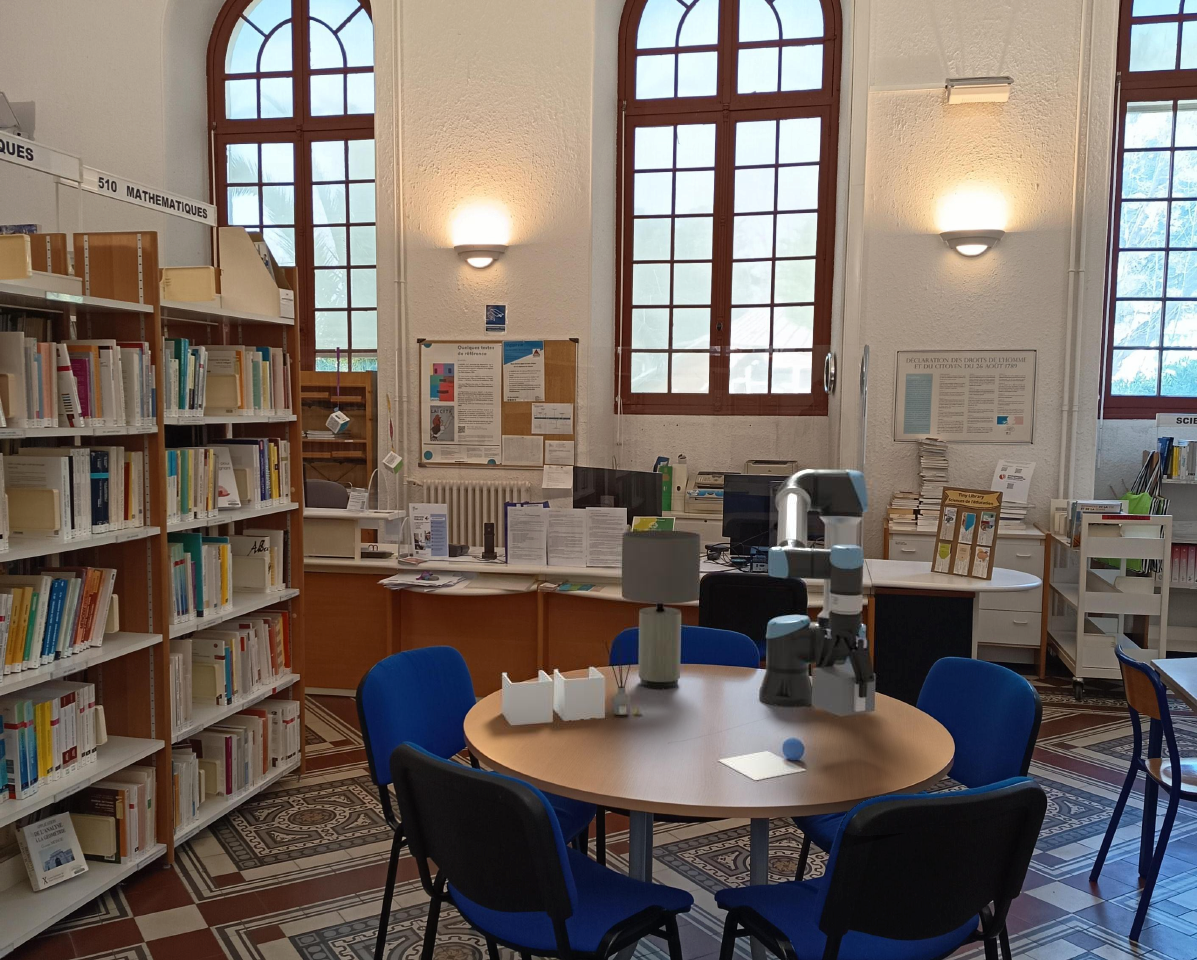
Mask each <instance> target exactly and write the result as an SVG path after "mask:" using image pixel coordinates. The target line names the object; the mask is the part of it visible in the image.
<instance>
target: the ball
mask: <svg viewBox="0 0 1197 960" xmlns="http://www.w3.org/2000/svg"><path fill="white" fill-rule="evenodd" d="M781 750H782V753H783V756H784V757H785V758H786V759H788V760H789V761H798V760H799V759H802V758H803V756H804V754H805V746H804V743H803V742H802V741H801V740H800V739H798V738H796V737H790V738H788V739H786V740H785V741H784V742H783V744H782V749H781Z"/></svg>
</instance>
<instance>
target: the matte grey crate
mask: <svg viewBox="0 0 1197 960" xmlns="http://www.w3.org/2000/svg"><path fill="white" fill-rule="evenodd" d="M811 671H812V673H811V674H812V676H811V677H812V680H811V685H812V704H811V706H813V707H815V708H818V709H820V710H823V711H826V712H828V713H830V714H834V715H836V716H838V717H845V716H847V717H848V716H854V715H858V714H865V713H871V712H875V710H876V677H877V676H876V673H874V672H873V673H874V679H875V680H874V682H869V683H868V684H867V697H865V710H864V711H858V712H855V711H854V687H855V682H857V679H856V676H855V674H854V671H853V668H852V666H849V665H846V664H845V665H833V666H829V667H822V668H819V667H814V668H812V670H811ZM868 677H869V676H868ZM861 678H862V676H861Z"/></svg>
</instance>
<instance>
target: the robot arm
mask: <svg viewBox="0 0 1197 960" xmlns="http://www.w3.org/2000/svg"><path fill="white" fill-rule="evenodd" d="M868 503H869V502H868V489H867V482H866V478H865V475H864V474H863V472H862V471H860V470H855V469H814V468H810V469H808V468H807V469H802V470H799V471H797V472H795V473H793V474H791V475H790V476H788V477H787V478H786V479H785V480H783V482H782V483H781V484H780V486H779V487H778V488H777V491H776V495H775V503H774V504H775V507H776V509H777V511H778V520H777V521H778V522H777V538H776V539H777V540H776V541H777V542H776V546H772V547H770V548H769V549H768V561H767V567H768V568H767V571H768V575H769V576H770V577H773V578H782V579H809V580H810V579H811V580H823V602H822V603H823V604H822V611H820V612H819V614H817V620H816V621H811V619H810V617H809V616H808V615H804V614H803V615H801V614H790V615H787V614H786V615H781V616H777V617H774V618H772V619H770V620H769V621H768V622H767V627H766V634H765V638H766V653H765V654H766V657H765V658H766V661H765V672H764V676H763V679H762V683H761V685H760V686H759V687H760V688H759V690H758V692H759V693H758V699H760V701H761V702H764V703H765V704H769V705H773V706H780V707H788V708H789V707H791V708H792V707H795V708H796V707H804V706H809V705H812V680H811V677H810V674H809V665H815V668H822V667H829V666H837V665H845V664H846V665H849V666H852V668H853V671H854V674H855V676H856V679H857V682H855V687H854V711H855V712H858V711H864V710H865V697H867V684H868V683H869V682H874V680H875V681H876V678H875V679H874V669H873V668H874V667H873V663H872V658H871V653H870V638H868V637H866V633H867V632H866V631H867V625H866V624H864V623H863V614H862V611H863V582H864V581H863V580H864V564H865V559H864V549H863V547H861V546H858V545H857V529H858V528H857V527H858V524H859V523H860V522H861V521H862V520H863V513H867V512H868V511H869V504H868ZM809 511H814V512H815V511H817V512H819V518H820V520H821V521H822V522H823V523H824V548H818V547H817V548H816V547H815V548H814V547H808V512H809ZM861 676H862V678H861ZM868 676H869V677H868Z"/></svg>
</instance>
